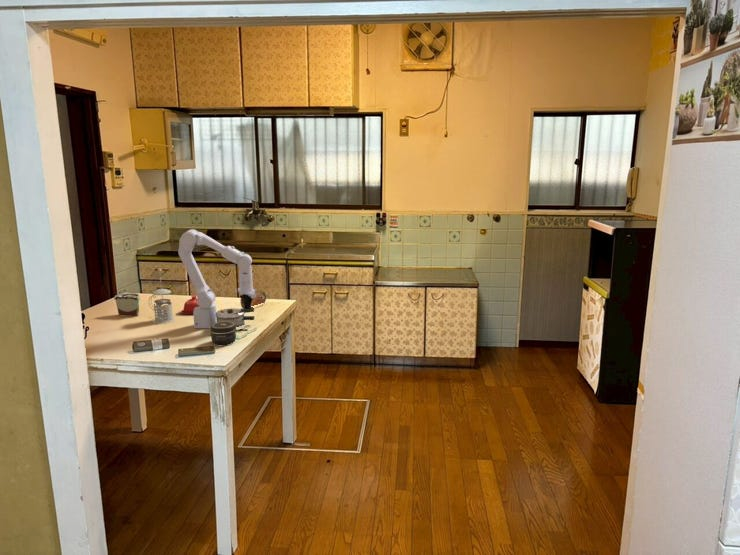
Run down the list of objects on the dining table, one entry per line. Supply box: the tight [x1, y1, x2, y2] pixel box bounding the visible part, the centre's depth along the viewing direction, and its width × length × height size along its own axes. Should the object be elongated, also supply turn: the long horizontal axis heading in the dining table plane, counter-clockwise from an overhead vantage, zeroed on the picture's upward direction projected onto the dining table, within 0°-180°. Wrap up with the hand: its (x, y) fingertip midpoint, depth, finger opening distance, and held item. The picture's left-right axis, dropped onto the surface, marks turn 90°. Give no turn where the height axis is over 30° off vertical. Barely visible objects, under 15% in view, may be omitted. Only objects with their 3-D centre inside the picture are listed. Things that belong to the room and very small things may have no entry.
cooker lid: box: [215, 307, 255, 319], centre depth 229 cm, size 17×13×2 cm
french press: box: [148, 268, 176, 325], centre depth 237 cm, size 10×12×25 cm
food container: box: [113, 292, 141, 317], centre depth 248 cm, size 12×6×10 cm, turn 84°
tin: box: [240, 290, 267, 308], centre depth 261 cm, size 15×3×8 cm, turn 143°
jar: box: [210, 321, 237, 347], centre depth 211 cm, size 10×10×8 cm
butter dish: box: [179, 295, 199, 315], centre depth 253 cm, size 12×12×8 cm
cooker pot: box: [216, 314, 255, 327], centre depth 229 cm, size 16×12×6 cm
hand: (247, 310), depth 233 cm, fingers closed
